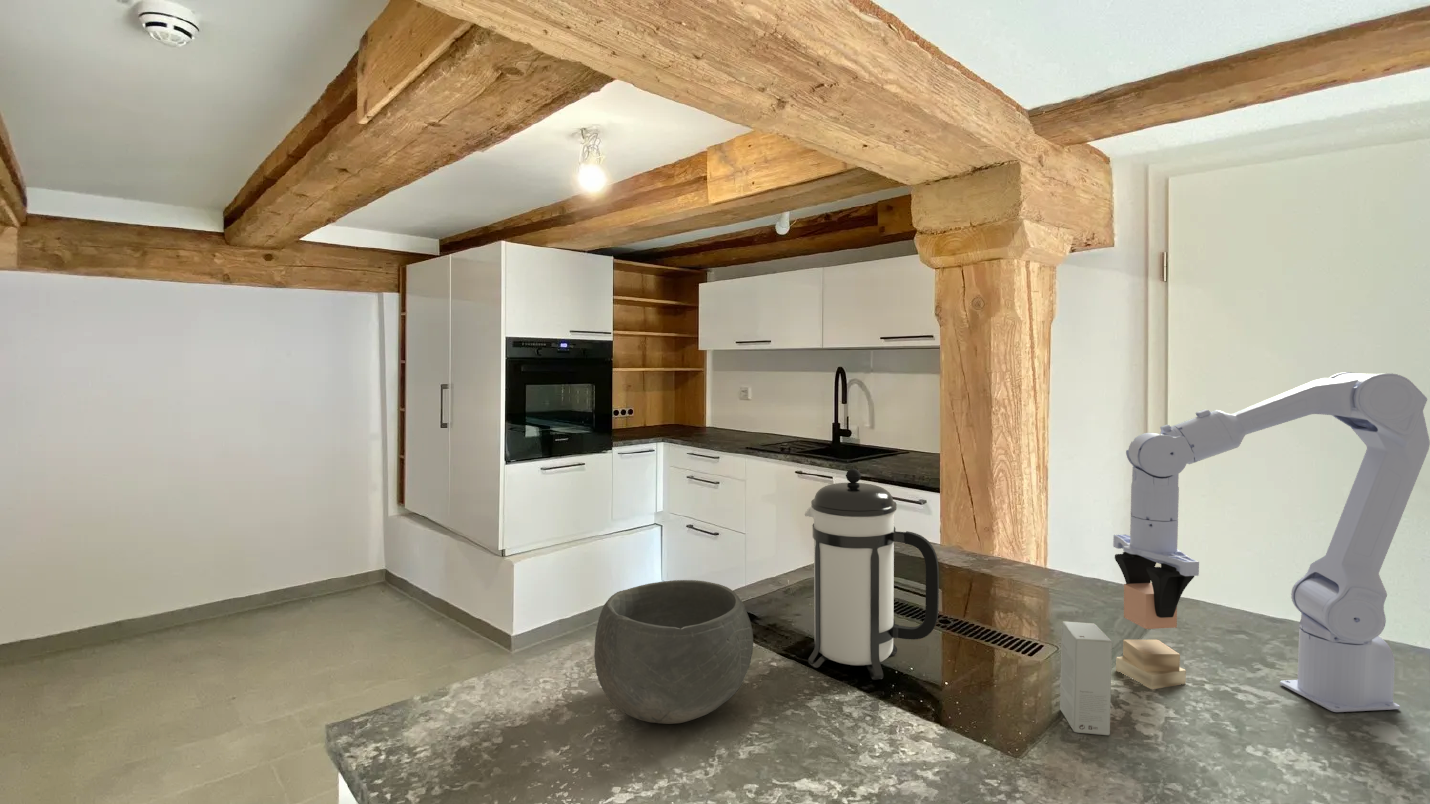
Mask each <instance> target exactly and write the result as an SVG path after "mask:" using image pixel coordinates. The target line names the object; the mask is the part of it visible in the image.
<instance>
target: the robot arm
mask: <svg viewBox="0 0 1430 804" xmlns="http://www.w3.org/2000/svg"><path fill="white" fill-rule="evenodd" d="M1427 402H1428V398H1427V396H1426V395H1425V394H1424V393H1423V392H1422V391H1421V390H1420V389H1419V388H1418V387H1417V386H1416V385H1415V384H1414V383H1413V382H1412V381H1411V380H1410V379H1408V378H1407V377H1405V376H1404V375H1400V374H1398V373H1392V372H1384V373H1358V372H1352V371H1350V372H1349V371H1346V372H1344V371H1343V372H1338V373H1336V374H1333V375H1330V376H1329V377H1322V378H1318V379H1314V380H1311V381H1309V382H1307V383H1304V384H1301V385H1298V386H1297V387H1294V388H1292V389H1289V390H1287V391H1284V392H1282V393H1279V394H1277V395H1275V396H1272V397H1269V398H1267V399H1264V400H1262V401H1260V402H1257V403H1255V404H1252V405H1250V406H1248V407H1245V408H1243V409H1240V410H1238V411H1236V412H1233V413H1228V412H1226V411H1223V410H1219V409H1215V410H1212V411H1210V410H1209V409H1202V410H1199V411H1196V412H1195V415H1196V416H1195V417H1193V418H1191V419H1188V420H1184V421H1182V422H1179V423H1177V424H1174V425H1170V424H1165V425H1161V426H1160V427H1159V429H1160V433H1156V432H1145V433H1142V434H1139V435H1136V437H1134V438H1133V441H1131V442H1130V443H1129V446H1128V449H1126V450H1125V454H1126V458H1127V460H1128V462H1129V463H1130V464H1131V466H1132V469H1131V470H1132V471H1131V472H1132V475H1131V478H1132V479H1131V480H1132V481H1131V484H1130V485H1131V486H1130V529H1129V530H1130V532H1129V533H1130V534H1129V535H1128V534H1113V539H1112V540H1113V543H1112V546H1113V548H1116V549H1122V550H1123V552H1122V553H1116V554H1115V555H1114V560H1115V562H1116V563H1117V565H1118V567H1119V568H1120V570H1121V573H1122V575H1123V577H1124V582H1125V584H1136V583H1152V586H1153V591H1154V605H1155V612H1156V615H1157V616H1158V617H1160V618H1166V617H1173V616H1174V613H1175V610H1176V607H1177V608H1178V605H1179V602H1180V599H1181V597H1182V595H1183V593H1184V591H1185V589H1186V588H1187V587H1188V586H1189V584H1190V583H1191V582H1192V580H1194V578H1195V576H1197V577H1198V576H1200V574H1199V573H1200V561H1198V560H1195V559H1193V558H1192V557H1190V556H1189V555H1187V554H1186V553H1184V552H1183V551H1181V549H1178V539H1179V538H1178V536H1179V535H1178V532H1179V528H1178V527H1179V501H1180V500H1179V499H1180V497H1179V495H1180V493H1179V491H1180V487H1179V479H1180V478H1179V474H1180V473H1181V472H1182V471H1184V469H1185V468H1186V466H1187V465H1191V464H1194V463H1197V462H1200V461H1203V460H1206V459H1208V458H1211V457H1215V456H1218V455H1220V454H1223V453H1226V452H1229V451H1231V450H1234V449H1238V448H1239V447H1240V446H1241V444H1242V442H1243V440H1244V439H1245V436H1246V435H1249V434H1252V433H1255V432H1258V431H1262V430H1265V429H1268V428H1269V429H1270V428H1272V427H1276V426H1277V425H1282V424H1284V423H1288V422H1292V421H1293V420H1294V421H1295V420H1297V419H1300V418H1303V417H1307V416H1310V415H1325V416H1331V417H1333V418H1335V419H1337V420H1338V421H1340V422H1342V423H1344V424H1345V425H1346V426H1348V427H1350V428H1351V430H1352V431H1353V432H1354V433H1355V434H1356V435H1357V437H1358V438H1359V439H1360V440H1361V442H1363V443H1364V445H1365V446H1366V451H1365V452H1364V456H1363V458H1362V461H1361V464H1360V465H1359V468H1358V470H1357V471H1358V472H1357V473H1356V477H1355V479H1354V481H1353V484H1352V486H1351V488H1350V491H1349V494H1348V497H1347V499H1346V502H1345V505H1344V507H1343V510H1342V512H1341V514H1340V517H1339V519H1338V522H1337V524H1336V528H1335V530H1334V532H1333V535H1332V538H1331V540H1330V543H1329V545H1328V548H1327V550H1326V553H1325V555H1324V556H1322V557H1321V558H1319V559H1316V560H1315V561H1313V562H1311V563H1310V565H1309V567H1308V570H1307V571H1306V573H1305V574H1304V575H1303V577H1301V578H1300V579H1298V580H1297V581H1296V582H1295V584H1294V585H1293V586H1292V588H1291V593H1290V595H1291V596H1290V598H1291V602H1292V604H1293V605H1294V607H1295V608H1296V609H1297V610H1298V612H1299V613H1300V621H1299V631H1298V657H1297V658H1298V659H1297V661H1298V662H1297V679H1288V680H1287V679H1286V680H1280V681H1279V684H1280V685H1281V686H1283V687H1285V688H1286V689H1288V690H1290V691H1292V692H1294V693H1296V694H1298V695H1300V696H1302V697H1304V698H1306V699H1308V700H1309V701H1311V702H1313V703H1315V704H1317V705H1318V706H1321V707H1323V708H1324V709H1327V710H1328V711H1330V712H1334V713H1344V712H1347V713H1348V712H1365V711H1367V712H1369V711H1386V710H1388V711H1389V710H1400V707H1401V705H1399V704H1398V703H1396V702H1394V688H1395V685H1394V684H1395V668H1396V667H1395V666H1396V665H1395V663H1396V662H1395V655H1394V653H1393V650H1392V649H1391V647H1390V645H1389V644H1388V642H1386V641H1385V640H1384V639H1383V638H1382V637H1380V635H1381V634H1382V632H1383V631H1384V629H1385V627H1386V623H1387V619H1386V618H1387V617H1386V614H1385V603H1386V602H1385V601H1386V599H1387V596H1388V594H1387V590H1386V588H1385V586H1384V583H1383V581H1382V579H1381V577H1380V576H1381V575H1380V571H1381V570H1382V566H1383V564H1384V562H1385V559H1386V556H1387V554H1388V553H1389V552H1388V551H1389V549H1390V546H1391V544H1392V542H1393V540H1394V537H1395V533H1396V531H1397V530H1398V526H1399V524H1400V521H1401V519H1402V517H1403V514H1404V511H1405V509H1406V506H1407V505H1408V502H1409V499H1410V497H1411V494H1412V491H1413V489H1414V487H1415V485H1416V482H1417V480H1418V477H1419V475H1420V472H1421V470H1422V468H1423V465H1424V462H1425V459H1426V457H1427V455H1428V452H1429V450H1430V436H1429V431H1428V427H1427V423H1426V419H1425V418H1426V417H1425V413H1424V409H1425V407H1426V404H1427ZM1157 564H1159V565H1160V566H1156V565H1157Z"/></svg>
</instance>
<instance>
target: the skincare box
mask: <svg viewBox="0 0 1430 804" xmlns="http://www.w3.org/2000/svg"><path fill="white" fill-rule="evenodd" d="M1060 643H1061V645H1060V646H1061V648H1060V649H1061V650H1060V651H1061V652H1060V689H1059V690H1060V691H1059V692H1060V695H1059V696H1060V697H1059V709H1060V712H1061V713H1062V715H1063V716H1064V717H1065V719H1066V720H1067V722H1068V725H1069V726H1070V727H1071V729H1072V732H1074V733H1078V734H1091V735H1102V736H1110V734H1111V700H1112V698H1111V696H1112V693H1111V692H1112V659H1113V658H1112V654H1113V653H1112V652H1113V651H1112V650H1113V649H1112V648H1113V641H1112V640H1111V639H1110V638H1109V636H1107V635H1106V633H1105V632H1104V631H1102V629H1100V627H1099V626H1098V625H1096V623H1093V622H1092V623H1091V622H1079V621H1078V622H1077V621H1066V620H1065V621H1064V620H1063V621H1062V622H1061V642H1060Z"/></svg>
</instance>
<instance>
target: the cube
mask: <svg viewBox="0 0 1430 804" xmlns="http://www.w3.org/2000/svg"><path fill="white" fill-rule="evenodd" d="M1123 618H1125V619H1127V620H1128V621H1130V622H1131V623H1133V624H1136V625H1138V627H1139V626H1140V627H1141V628H1143V629H1145V630H1154V629H1175V628H1178V606H1177V607H1176V610H1175V613H1174V616H1173V617H1166V618H1160V617H1158V616H1157V615H1156V612H1155V605H1154V591H1153V586H1152V582H1151V583H1136V584H1126V583H1123Z"/></svg>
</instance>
